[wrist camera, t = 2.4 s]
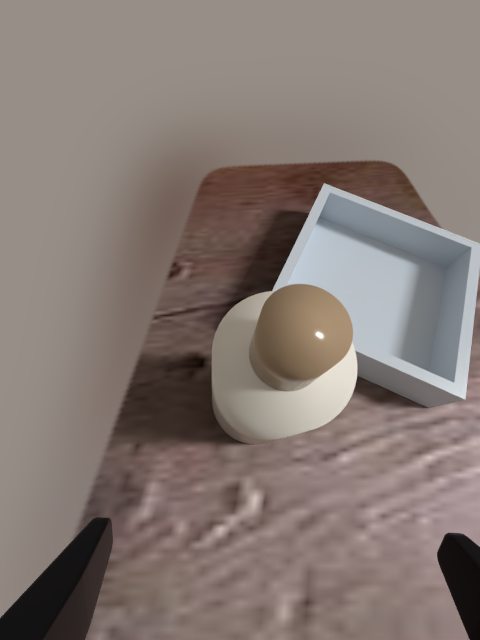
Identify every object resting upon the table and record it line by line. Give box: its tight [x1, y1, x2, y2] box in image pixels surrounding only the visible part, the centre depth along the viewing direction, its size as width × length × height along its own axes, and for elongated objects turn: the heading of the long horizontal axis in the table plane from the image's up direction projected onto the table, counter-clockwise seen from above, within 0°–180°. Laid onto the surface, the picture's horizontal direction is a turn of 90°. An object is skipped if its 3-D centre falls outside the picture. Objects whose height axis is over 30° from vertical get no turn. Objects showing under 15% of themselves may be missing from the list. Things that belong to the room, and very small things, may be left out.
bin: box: [272, 184, 480, 408], centre depth 24 cm, size 14×14×4 cm
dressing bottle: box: [212, 284, 358, 444], centre depth 15 cm, size 6×6×13 cm
